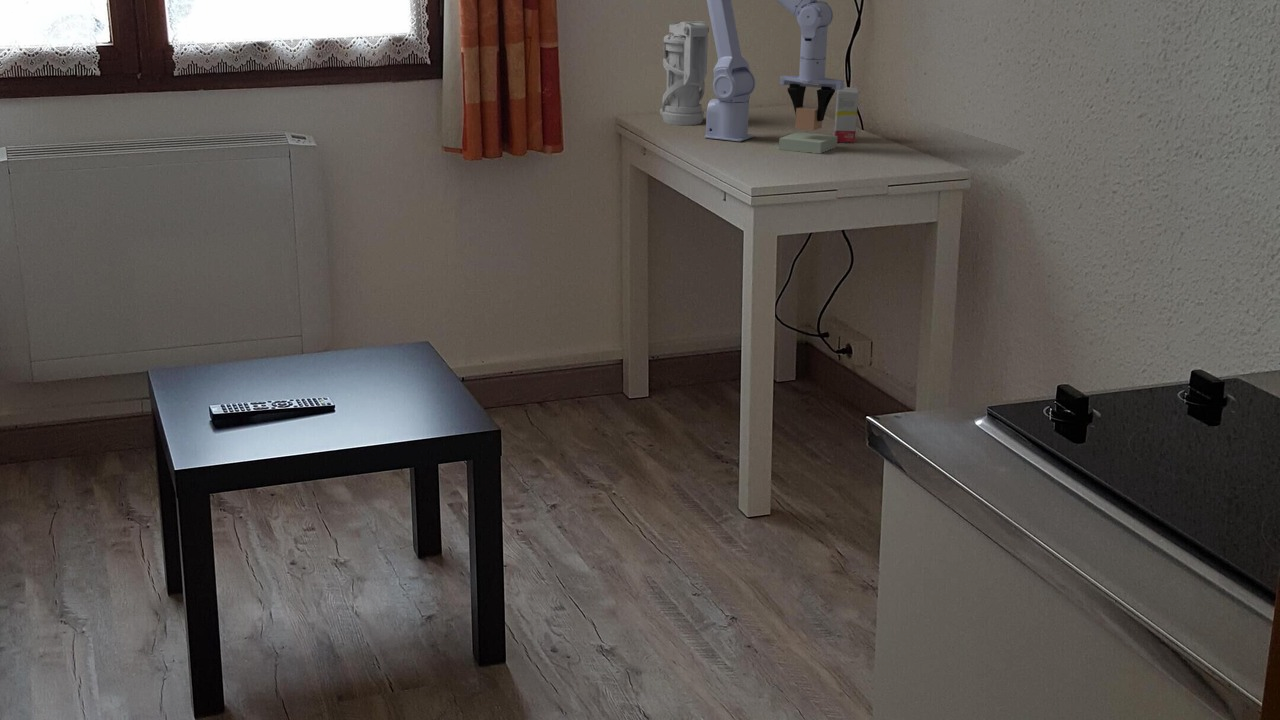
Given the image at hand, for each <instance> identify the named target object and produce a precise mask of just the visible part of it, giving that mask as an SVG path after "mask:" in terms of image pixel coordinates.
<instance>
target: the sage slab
mask: <svg viewBox="0 0 1280 720" xmlns="http://www.w3.org/2000/svg"><path fill="white" fill-rule="evenodd" d="M834 147H836V148H838V142H837V136H834V135H830V134H822V133H819V134H818V133H810V132H809V133H808V132H800V131H796V132H793V133H790V134H787V135H785V136H783V137H779V139H778V150H782V151H789V152H790V151H792V152H798V151H800V153H807V152H812V153H811V154H816V153H821V154H823V153H822V152H824V153H826V152H828V151H827V150H829V149H831V150H833V149H835V148H834ZM832 148H833V149H832ZM825 151H826V152H825ZM829 151H830V150H829Z"/></svg>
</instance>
